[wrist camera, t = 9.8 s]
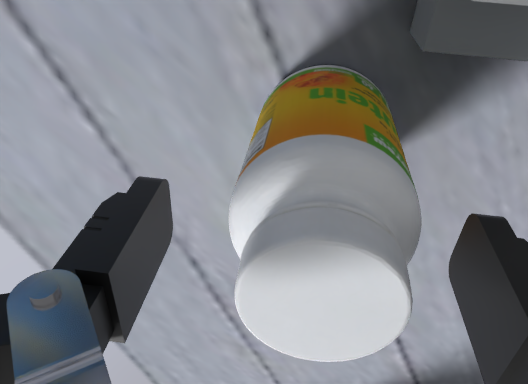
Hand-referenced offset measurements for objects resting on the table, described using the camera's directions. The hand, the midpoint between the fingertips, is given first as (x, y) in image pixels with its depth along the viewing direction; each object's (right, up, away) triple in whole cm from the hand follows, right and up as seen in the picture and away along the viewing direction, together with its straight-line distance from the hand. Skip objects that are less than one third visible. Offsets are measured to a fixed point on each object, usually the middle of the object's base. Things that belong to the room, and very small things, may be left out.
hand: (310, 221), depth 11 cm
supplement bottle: (+1, +4, +6) cm, 7 cm away
